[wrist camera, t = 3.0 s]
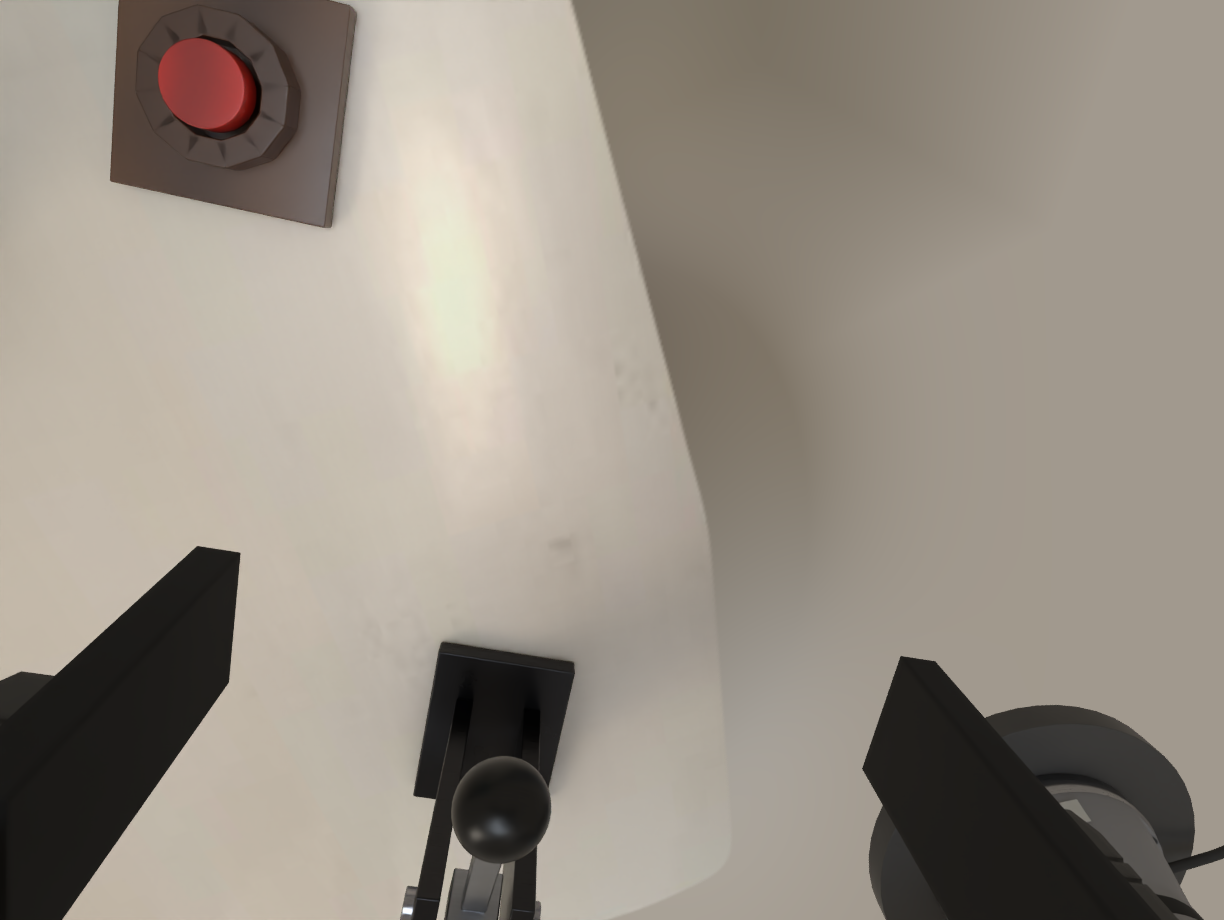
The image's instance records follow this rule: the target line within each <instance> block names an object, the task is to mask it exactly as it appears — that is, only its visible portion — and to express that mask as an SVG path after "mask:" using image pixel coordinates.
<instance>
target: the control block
mask: <svg viewBox="0 0 1224 920" xmlns="http://www.w3.org/2000/svg"><path fill="white" fill-rule="evenodd" d="M355 21H356V11H355V10H354V9H353V8H352V7H351V6H350V5H346V4H342V3H338V2H334V1H330V0H119V7H118V27H117V48H116V69H115V90H114V110H113V131H112V152H111V173H110V181H112V182H116V183H121V184H125V185H130V186H135V187H139V188H144V189H148V190H153V191H158V192H162V193H167V194H171V195H176V196H181V197H185V198H190V199H194V200H199V201H204V202H208V203H213V204H217V205H222V206H227V207H231V208H236V209H240V210H245V211H250V212H254V213H259V214H263V215H268V216H273V217H277V218H282V219H286V220H291V221H296V222H300V223H305V224H309V225H314V226H319V227H323V228H330V227H331V222H332V214H333V206H334V197H335V189H336V180H337V172H338V164H339V155H340V147H341V138H342V130H343V122H344V113H345V105H346V96H347V88H348V80H349V71H350V63H351V54H352V46H353V38H354V29H355ZM188 38H202V39H206V40H210V41H212V42H214V43H216V44H218V45H220V46H222V47H224V48H226V49H227V50H229V51H231V52H233V53H234V54H236V55H237V56H238V57H239V58H240V59H241V60H242V61H243V62H244V63H245V64H246V65H247V67H248V68H249V70H250V72H251V74H252V76H253V78H254V81H255V85H256V92H257V100H256V105H255V109H254V111H253V114H252V115H251V117H250V119H249V120H248V121H247V122H246V123H245V124H244V125H243V126H241V127H240V128H238V129H236V130H234V131H230V132H225V133H216V132H211V131H207V130H204V129H200V128H197V127H193V126H191V125H189V124H187V123H185V122H183V121H182V120H180V119H179V118H178V117H177V116H175V115H174V114H173V113H172V111H171V110H170V109H169V108H168V106H167V105H166V103H165V101H164V99H163V97H162V95H161V92H160V88H159V83H158V70H159V65H160V62H161V60H162V57H163V56H164V54H165V53H166V51H167V50H168V49H169V48H170V47H171V46H172V45H174V44H175V43H177V42H179V41H181V40H184V39H188Z"/></svg>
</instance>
